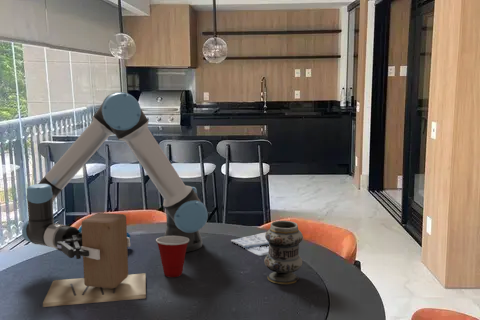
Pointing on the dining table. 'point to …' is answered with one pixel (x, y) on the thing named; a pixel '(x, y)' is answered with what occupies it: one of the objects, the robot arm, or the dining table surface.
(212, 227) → the dining table surface
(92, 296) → the board
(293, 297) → the dining table surface
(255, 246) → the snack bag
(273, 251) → the apothecary jar
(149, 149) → the robot arm
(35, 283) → the dining table surface
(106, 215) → the wooden block
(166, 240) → the plastic cup
